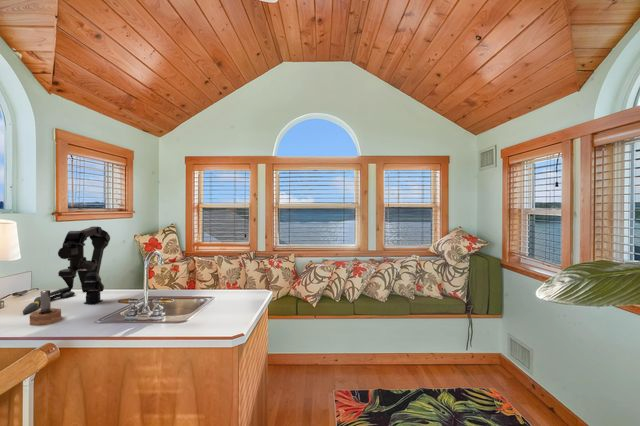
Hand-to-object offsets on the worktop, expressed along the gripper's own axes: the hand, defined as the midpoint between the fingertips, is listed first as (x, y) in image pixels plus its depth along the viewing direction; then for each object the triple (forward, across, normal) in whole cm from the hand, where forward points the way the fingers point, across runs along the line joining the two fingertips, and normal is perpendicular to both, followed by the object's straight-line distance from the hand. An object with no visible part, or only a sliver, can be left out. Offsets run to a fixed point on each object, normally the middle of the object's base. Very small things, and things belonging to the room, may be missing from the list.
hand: (77, 286), depth 167 cm
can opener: (+13, +23, +25) cm, 37 cm away
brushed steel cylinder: (+13, -12, +7) cm, 19 cm away
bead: (+13, -12, +7) cm, 19 cm away
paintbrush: (+13, +7, +24) cm, 29 cm away
